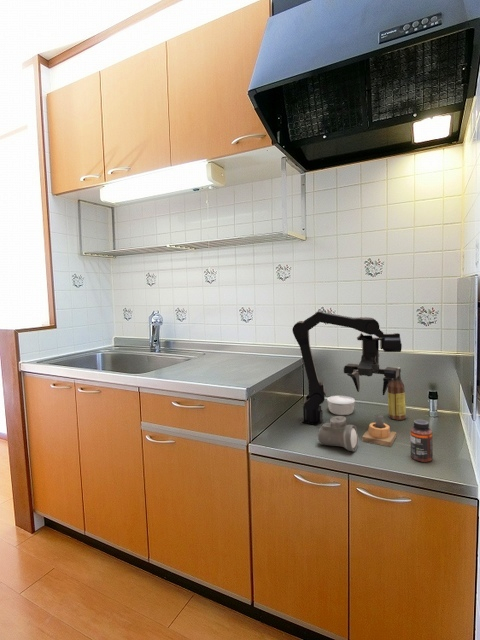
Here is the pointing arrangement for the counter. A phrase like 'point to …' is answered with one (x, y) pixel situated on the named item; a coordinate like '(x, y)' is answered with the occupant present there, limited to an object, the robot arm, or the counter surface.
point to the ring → (379, 431)
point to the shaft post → (381, 441)
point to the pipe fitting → (339, 434)
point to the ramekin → (341, 405)
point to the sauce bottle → (396, 398)
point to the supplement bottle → (421, 441)
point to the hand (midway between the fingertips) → (370, 393)
